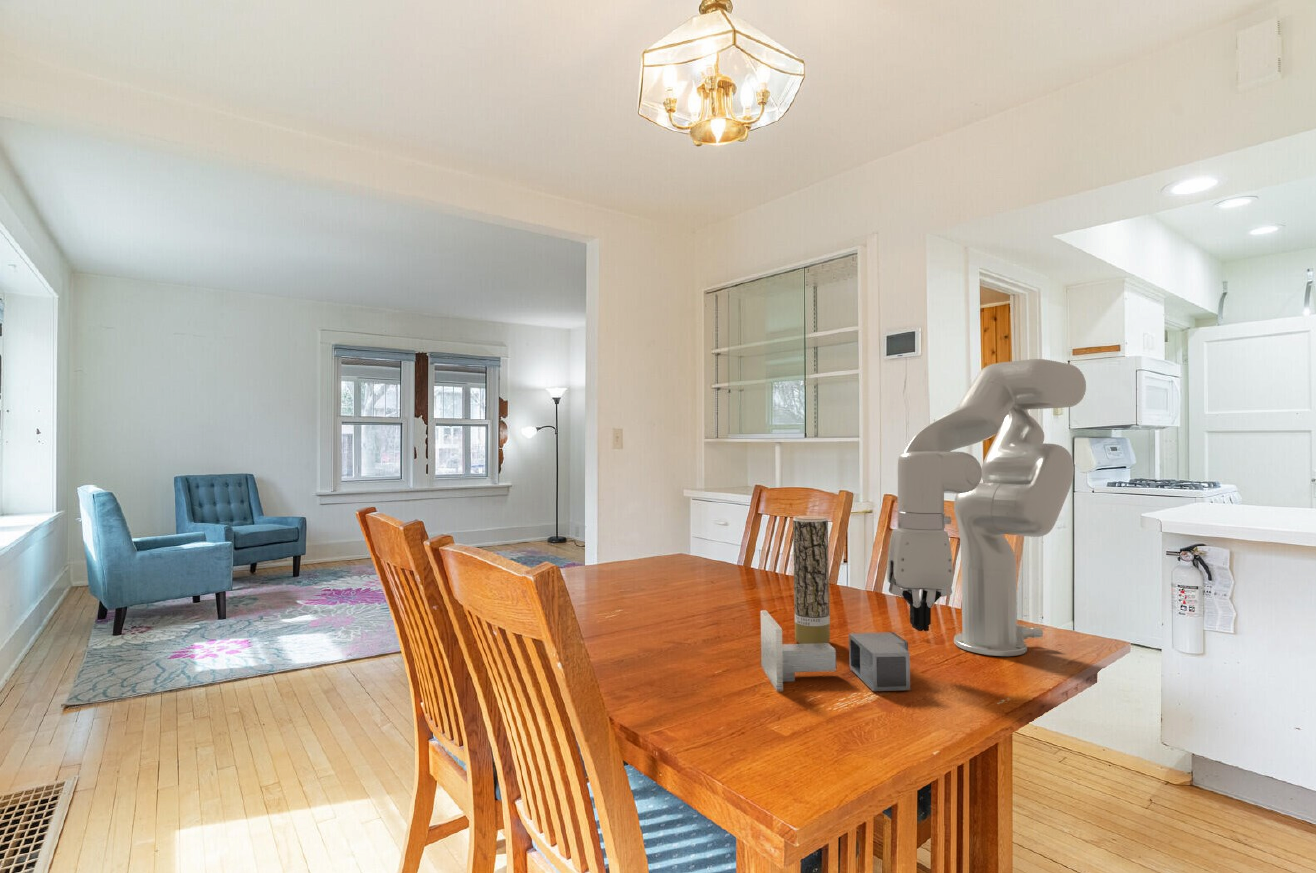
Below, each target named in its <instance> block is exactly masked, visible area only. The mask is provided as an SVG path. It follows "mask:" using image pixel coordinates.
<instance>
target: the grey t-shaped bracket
mask: <svg viewBox="0 0 1316 873" xmlns="http://www.w3.org/2000/svg"><path fill="white" fill-rule="evenodd" d="M760 648H761V650H760V654H761V655H760V656H761V663H760V664H761V666H760V667H761V668H762V670H763V671H764V673H765V674H766V676H767V678H768V679H769V681H770V683H771V684H772V686H773V687H774V690H776V692H784V683H785V682H796V679H795V678H796V676H795V673H813V672H814V673H815V672H816V673H817V672H818V673H819V672H820V673H821V672H836V671H837V665H838V664H837V650H836V648H834V647H833V646H832V645H831V644H830V642H829V643H815V644H799V643H789V644H788V643H787V644H786V643H785V644H783V629H782V627H781V626H780V625H779V623H778V622H777V621H776V620H775V619H774V618H773V617H772V616H771V614H770V613H769V612H768V611H767V610H765V609H762V610H760Z"/></svg>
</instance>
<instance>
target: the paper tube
mask: <svg viewBox="0 0 1316 873" xmlns="http://www.w3.org/2000/svg"><path fill="white" fill-rule="evenodd" d="M792 518H793V519H792V529H793V530H792V532H793V533H792V534H793V535H792V536H793V537H792V538H793V542H792V543H793V587H794V588H793V592H794V594H793V595H794V597H793V598H794V599H793V600H794V601H793V602H794V604H793V605H794V640H795V641H796V642H797V644H815V643H829V644H830V640H831V638H830V637H831V634H830V633H831V632H830V628H831V627H830V623H831V622H830V618H831V617H830V615H831V614H830V572H829V571H830V570H829V568H830V567H829V564H830V563H829V558H830V557H829V521H828V520H829V519H828V518H829V517H827V516H822V515H796V516H793V517H792Z"/></svg>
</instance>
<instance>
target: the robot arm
mask: <svg viewBox="0 0 1316 873" xmlns="http://www.w3.org/2000/svg"><path fill="white" fill-rule="evenodd" d="M1085 378H1086V377H1085V375H1084V374H1083V372H1082V371H1081V369H1080V368H1078V366H1075V365H1073V364H1070V363H1066V362H1060V361H1056V360H1051V359H1045V358H1032V359H1031V358H1030V359H1020V360H1012V361H1003V362H996V363H991V364H989V365H987V366H985V367H984V368H982V369H981V370H980V371H979V372H978V373H977V375H976V376H975V378H974V380H973V381H972V383H971V384H970V386H969V387H968V389H967V391H966V393H965V394H964V395H963V397H962V399H961V401H960V402H959V404H958V405H957V407H955V409H954V410H952V411H949V412H948V413H946V414H944V415H942V416H941V417H939V418H938V419H936V420H935V421H933V422H931V423H929V424H928V425H927V426H925V427H924V428H922V429H921V430H919V432H917V433H916V434H915V435H914V437H913V438H912V439H911V440H910V442H909V443H908V445H907V446H906V448H905V449H904V450H903V452H902V453H901V454H899V456H898V459H897V528H893V529H892V530H891V535H890V539H889V545H888V546H889V547H888V554H887V562H886V563H887V565H886V580H887V582H888V583H889V587H888V592H889V593H890V594H892V595H895V596H898V597H902V598H903V600H905V601H906V602H907V604H908V605H909V623H910V625H911V627H912V628H913V629H915V630H916V631H918V632H923V631H925V632H929V631H930V626H931V624H932V619H931V618H932V608H934V606H935V603H936V602H937V601H938V600H939V599H940V598H944V597H947V596H951V595H952V594H953V590H952V586H953V583H954V565H953V564H954V563H953V553H952V547H951V540H950V538H949V534H948V531H946V530H945V529H946V526H947V525H950V524H952V517H951V516H947V515H946V513H945V494H954V495H955V497H954V501H953V502H954V503H953V507H954V508H953V510H954V513H955V514H954V515H955V519H956V523H957V528H958V533H959V542H960V563H961V564H960V571H961V572H960V576H961V578H960V579H961V581H960V582H961V584H960V585H961V586H960V587H961V622H962V623H961V624H962V625H961V627H962V631H961V632H960V633H957V634H955V635H954V637H953V642H954V644H955V646H957V647H958V648H960V649H962V650H964V651H968V652H970V653H974V654H980V655H985V656H994V657H1015V656H1016V657H1017V656H1022V655H1024V654H1026V653H1027V651H1028V645H1027V643H1026V642H1025V641H1026V640H1027V639H1028V638H1033V639H1036V638H1037V639H1041V638H1043V636H1044V632H1043V629H1042V628H1041V627H1037V626H1035V627H1028V626H1027V625H1023V624H1022V625H1021V624H1019V623H1018V608H1017V607H1018V606H1017V605H1018V602H1017V598H1018V597H1017V558H1016V554H1015V551H1014V549H1013V547H1012V546H1011V543H1010V542H1009V540H1008V539H1007V538H1006V536H1005V535H1009V536H1010V535H1011V536H1018V537H1019V536H1020V537H1030V538H1032V537H1033V538H1035V537H1037V538H1039V537H1044V536H1046V535H1048V534H1049V533H1050V532H1051V531H1052V530H1053V529H1054V526H1055V525H1056V523H1057V521H1058V518H1059V515H1060V513H1061V510H1062V508H1063V506H1064V504H1065V501H1066V499H1067V497H1068V494H1069V492H1070V490H1071V486H1072V483H1073V479H1074V473H1075V468H1074V467H1075V466H1074V465H1075V464H1074V459H1073V457H1072V455H1071V453H1070V452H1069V450H1068V449H1066V448H1065V447H1064V446H1062V445H1060V444H1055V443H1044V441H1045V431H1044V430H1043V428H1042V427H1041V425H1040V424H1039V422H1037V420H1036V419H1035V418H1034V417H1033V416H1031V414H1029V412H1028V410H1042V409H1043V410H1044V409H1045V410H1046V409H1063V408H1064V409H1065V408H1073V407H1074V406H1077V405H1078V404H1079V403H1080V402H1082V400H1083V398H1084V396H1085V395H1086V391H1087V382H1086V379H1085ZM994 436H995V437H994ZM992 437H994V439H993V442H992V443H991V446H990V447H989V450H988V451H987V453H986V455H985V458H984V459H983V462H982V464H981V463H980V462H979V460H978V459H977V458H976V457H975V456H973V455H972V454H970V453H968V452H965V451H956V450H958V449H961V448H965V447H969V446H972V445H975V444H977V443H981V442H983V441H985V440H988V439H990V438H992ZM954 450H955V451H954ZM981 480H982V481H983V482H981ZM919 590H921V592H920V591H919ZM1024 640H1025V641H1024Z"/></svg>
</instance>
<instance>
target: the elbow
mask: <svg viewBox="0 0 1316 873" xmlns="http://www.w3.org/2000/svg"><path fill="white" fill-rule="evenodd" d="M848 652H849V654H848V655H849V664H848V665H849V669H850V670H851V671H852V672H853V673H854V674H855V675H856V676H857V677H858V678H859V679H860V680H861V681H862V682H863V683H864V684H865V685H866V687H868V688H869V689H870V690H871V691H872V692H889V691H891V692H892V691H895V692H896V691H911V668H910V667H911V666H910V665H911V663H910V651H909V642H908V641H907V640H905V639H904V638H902V637H901V636H900V635H898V634H897V633H896V632H894V631H893V632H892V631H891V632H887V631H886V632H860V633H859V632H857V633H855V632H853V633H852V632H851V633H848Z"/></svg>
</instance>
